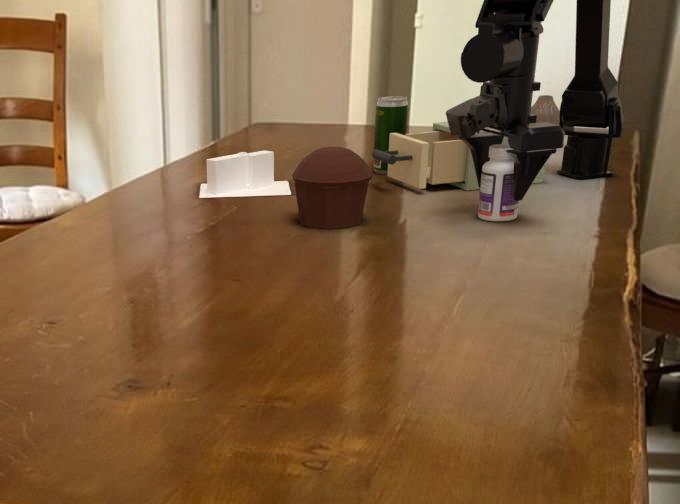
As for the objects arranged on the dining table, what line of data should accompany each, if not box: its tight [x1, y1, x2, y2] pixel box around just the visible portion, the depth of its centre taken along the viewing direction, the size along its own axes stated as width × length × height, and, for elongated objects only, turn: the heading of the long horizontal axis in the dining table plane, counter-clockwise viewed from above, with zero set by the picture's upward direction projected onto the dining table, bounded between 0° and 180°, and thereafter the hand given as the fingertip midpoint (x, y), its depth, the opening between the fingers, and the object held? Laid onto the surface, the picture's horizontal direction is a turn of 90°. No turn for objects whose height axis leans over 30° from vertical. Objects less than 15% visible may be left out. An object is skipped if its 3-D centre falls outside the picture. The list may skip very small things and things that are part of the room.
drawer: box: [371, 130, 468, 190], centre depth 162 cm, size 17×11×7 cm
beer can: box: [372, 95, 409, 176], centre depth 172 cm, size 5×5×12 cm
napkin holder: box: [198, 150, 292, 199], centre depth 166 cm, size 15×11×6 cm
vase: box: [530, 94, 560, 125], centre depth 189 cm, size 7×7×9 cm
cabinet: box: [432, 121, 546, 191], centre depth 164 cm, size 14×13×9 cm
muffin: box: [291, 146, 374, 230], centre depth 143 cm, size 12×11×10 cm
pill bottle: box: [477, 144, 520, 222], centre depth 141 cm, size 5×5×10 cm
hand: (499, 194), depth 141 cm, fingers open, 9 cm apart
